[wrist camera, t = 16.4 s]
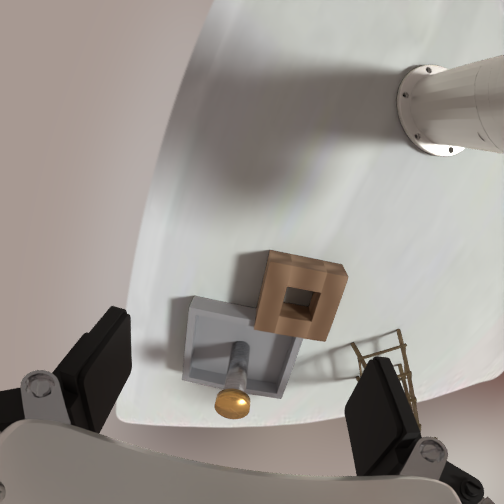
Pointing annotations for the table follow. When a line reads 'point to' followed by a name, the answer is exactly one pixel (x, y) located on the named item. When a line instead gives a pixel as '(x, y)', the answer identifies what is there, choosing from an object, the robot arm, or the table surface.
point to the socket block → (302, 277)
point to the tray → (220, 342)
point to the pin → (235, 384)
